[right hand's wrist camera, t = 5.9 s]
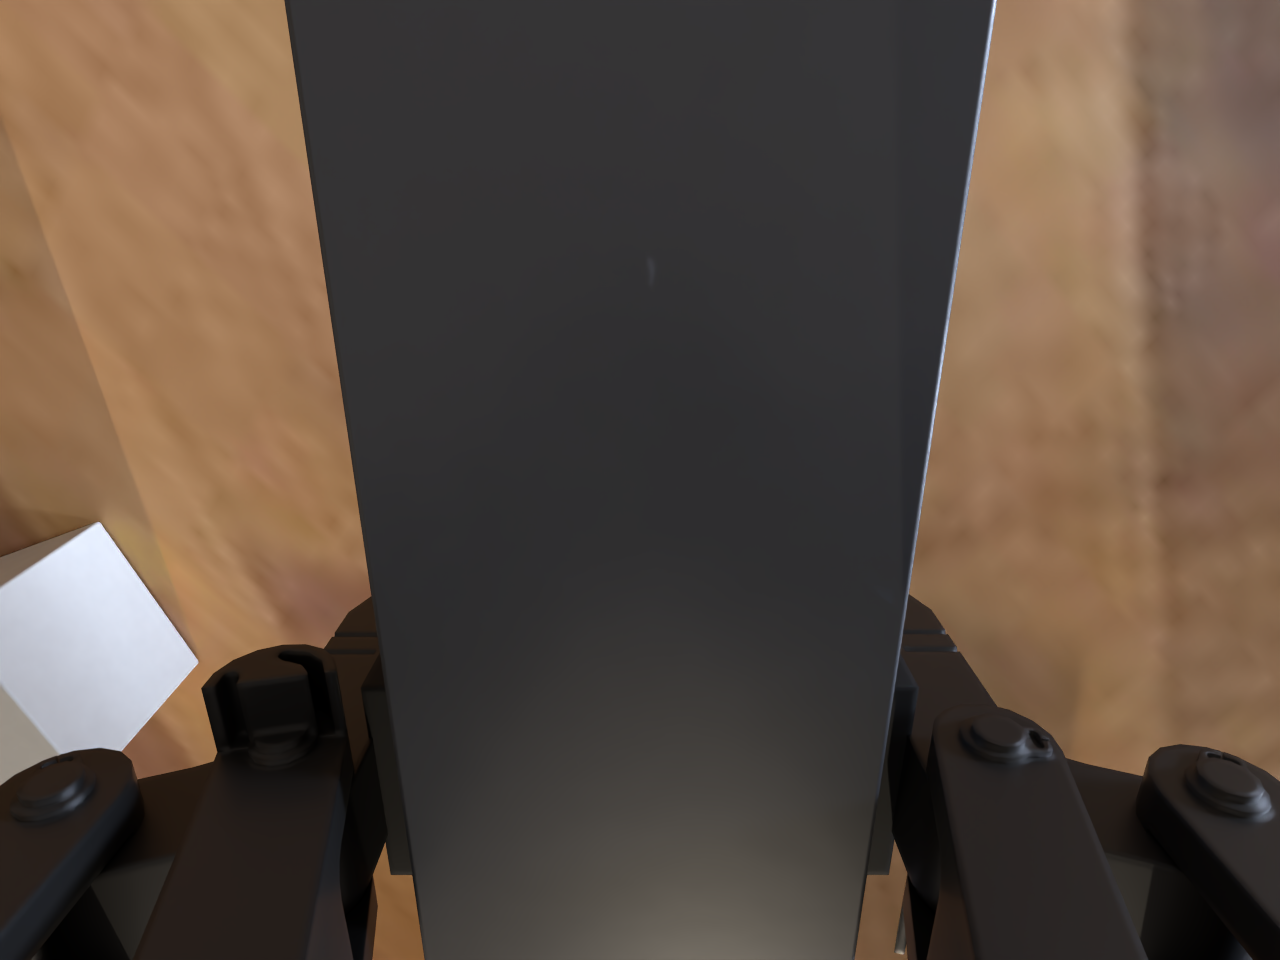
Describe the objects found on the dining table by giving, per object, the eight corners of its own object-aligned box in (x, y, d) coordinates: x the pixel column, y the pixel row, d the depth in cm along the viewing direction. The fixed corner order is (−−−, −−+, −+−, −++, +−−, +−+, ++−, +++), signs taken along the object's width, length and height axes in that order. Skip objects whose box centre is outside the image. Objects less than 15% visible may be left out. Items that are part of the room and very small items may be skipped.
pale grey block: (99, 520, 21) (-52, 621, 16) (200, 661, 23) (90, 788, 18) (-51, 575, 21) (-239, 688, 17) (58, 709, 23) (-84, 844, 19)
